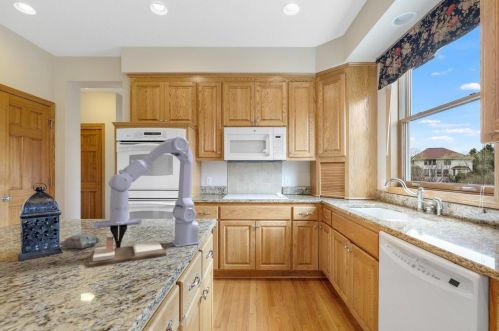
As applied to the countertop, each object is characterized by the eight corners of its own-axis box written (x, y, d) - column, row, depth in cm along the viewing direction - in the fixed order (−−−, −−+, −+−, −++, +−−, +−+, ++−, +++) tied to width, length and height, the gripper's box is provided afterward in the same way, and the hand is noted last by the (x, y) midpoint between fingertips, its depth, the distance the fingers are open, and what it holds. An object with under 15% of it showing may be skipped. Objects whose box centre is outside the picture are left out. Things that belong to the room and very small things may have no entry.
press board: (159, 245, 98) (160, 242, 98) (166, 255, 86) (166, 252, 86) (92, 253, 87) (92, 250, 87) (88, 267, 75) (88, 264, 75)
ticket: (157, 243, 97) (158, 240, 97) (162, 252, 87) (162, 248, 87) (132, 247, 92) (133, 243, 92) (134, 256, 83) (135, 252, 83)
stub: (114, 248, 89) (115, 234, 89) (114, 258, 80) (114, 242, 80) (95, 251, 86) (95, 236, 86) (92, 261, 77) (93, 244, 77)
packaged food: (82, 252, 89) (83, 238, 89) (56, 249, 92) (57, 236, 92) (101, 245, 98) (102, 233, 98) (77, 243, 100) (77, 231, 100)
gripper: (93, 211, 78) (92, 253, 78) (142, 208, 85) (141, 247, 85) (95, 208, 84) (94, 247, 84) (140, 205, 91) (140, 242, 91)
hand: (118, 247), depth 85 cm, fingers closed
